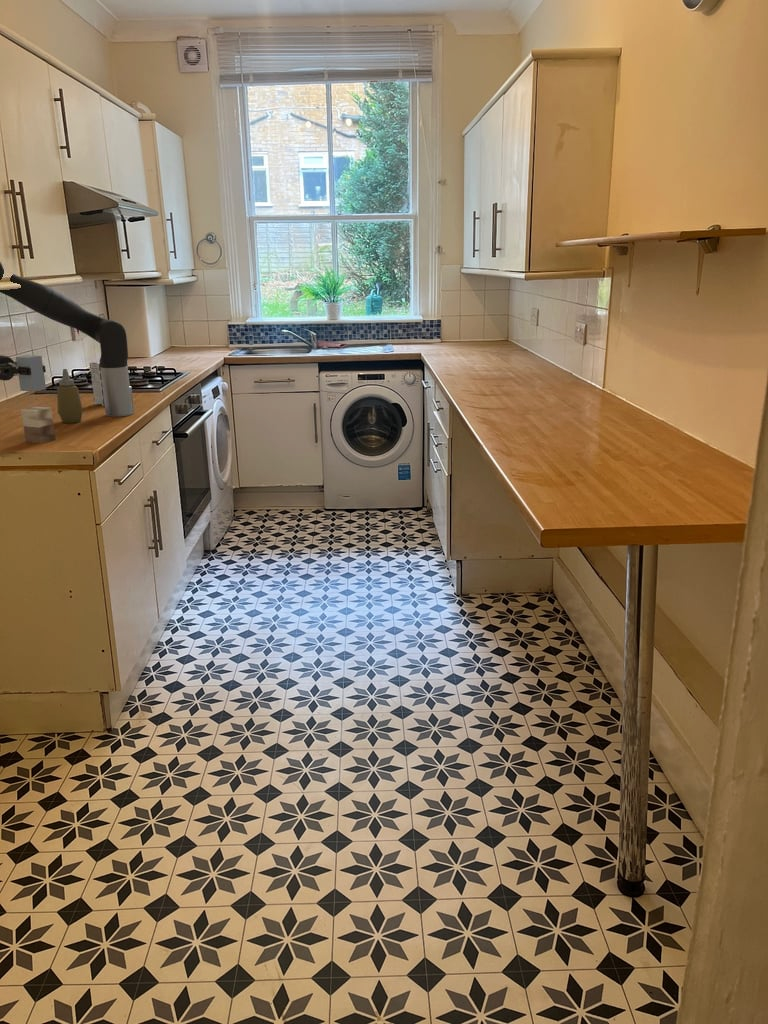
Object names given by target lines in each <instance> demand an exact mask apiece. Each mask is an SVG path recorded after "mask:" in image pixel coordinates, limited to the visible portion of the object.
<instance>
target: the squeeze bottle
mask: <svg viewBox="0 0 768 1024" xmlns="http://www.w3.org/2000/svg"><path fill="white" fill-rule="evenodd" d="M58 382H59V386H58V387H57V388H56V390H57V391H56V393H57V413H58V415H59V417H60V420H61V422H62V423H66V424H72V423H79V422H81V421H82V418H83V417H82V416H83V412H84V409H83V404H82V400H81V397H80V392H79V388H78V386H76V385H75V380H74V379H72V378H71V377H70V374H69V371H68V369H67V368H63V369H62V378H61V379H59V380H58Z"/></svg>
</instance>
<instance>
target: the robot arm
mask: <svg viewBox="0 0 768 1024" xmlns="http://www.w3.org/2000/svg"><path fill="white" fill-rule="evenodd" d="M3 268H4V266H3V264H2V261H0V280H1V279H2V277H3V274H4V269H5V268H4V269H3ZM10 281H11V282H13V283H17V284H20V285H21V288H18V289H10V290H0V293H1V294H2V295H3V294H4V295H6V296H8V297H9V298H11V299H13V300H15V301H16V302H18V303H20V304H22V305H23V306H25V307H27V308H28V309H31V310H32V311H34V312H36V313H38V314H40V315H42V316H44V317H45V318H48V319H49V320H50V319H51V320H52V321H54V322H57V323H60V324H62V325H65V326H67V327H70V328H73V329H75V330H77V331H79V332H81V333H83V334H85V335H86V336H88V337H90V338H91V339H93V340H95V341H96V342H97V343H99V345H100V346H99V347H100V358H99V361H100V369H101V377H102V386H103V395H104V403H105V406H104V409H105V416H106V417H112V418H113V417H127V416H131V415H133V414H134V413H135V408H134V407H135V406H134V399H133V398H134V397H133V388H132V386H131V384H129V382H130V374H129V375H128V373H129V367H128V366H127V365H128V358H129V350H128V341H127V340H128V339H127V333H126V329H125V327H124V326H123V324H121V323H120V322H118V320H117V321H116V320H112V319H108V318H105V317H102V316H100V315H97V314H95V313H92V312H90V311H88V310H86V309H85V308H83V307H82V306H80V305H79V304H78V303H77V302H75V301H74V300H72V299H71V298H70V297H68V296H66V295H65V294H63V293H61V292H59V291H57V290H56V289H53V288H52V287H49V286H46V285H44V284H41V283H39V282H36V281H34V280H29V279H27V278H23V277H21V276H19V275H16V274H15V273H13V275H12V276H11V278H10ZM43 371H44V374H45V373H46V372H47V371H46V366H45V365H44V364H43ZM19 375H31V368H29V367H19V366H17V362H16V361H14V360H13V359H12V358H11V357H10V356H8V355H1V354H0V381H5V382H6V381H10V380H11V379H13V378H14V377H17V376H18V377H19Z"/></svg>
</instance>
